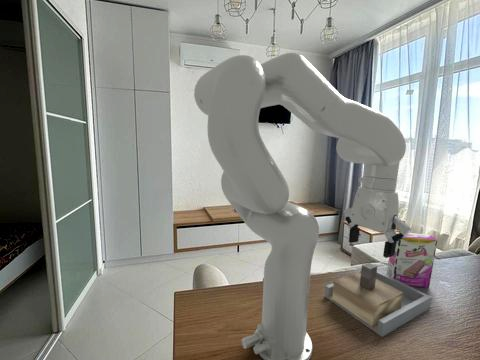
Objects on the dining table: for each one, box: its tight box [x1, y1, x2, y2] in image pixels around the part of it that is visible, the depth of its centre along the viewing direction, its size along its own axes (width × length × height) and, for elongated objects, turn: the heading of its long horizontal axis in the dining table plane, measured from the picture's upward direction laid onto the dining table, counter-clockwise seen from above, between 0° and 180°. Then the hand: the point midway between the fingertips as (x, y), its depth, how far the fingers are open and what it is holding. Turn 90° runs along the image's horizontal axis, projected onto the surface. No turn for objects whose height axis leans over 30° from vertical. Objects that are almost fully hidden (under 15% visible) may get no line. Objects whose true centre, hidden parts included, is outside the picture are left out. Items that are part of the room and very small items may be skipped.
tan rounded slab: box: [332, 262, 403, 327], centre depth 67 cm, size 12×12×12 cm
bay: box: [324, 270, 433, 338], centre depth 71 cm, size 22×17×4 cm
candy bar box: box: [386, 231, 438, 289], centre depth 80 cm, size 11×5×16 cm, turn 84°
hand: (369, 248), depth 65 cm, fingers open, 9 cm apart
